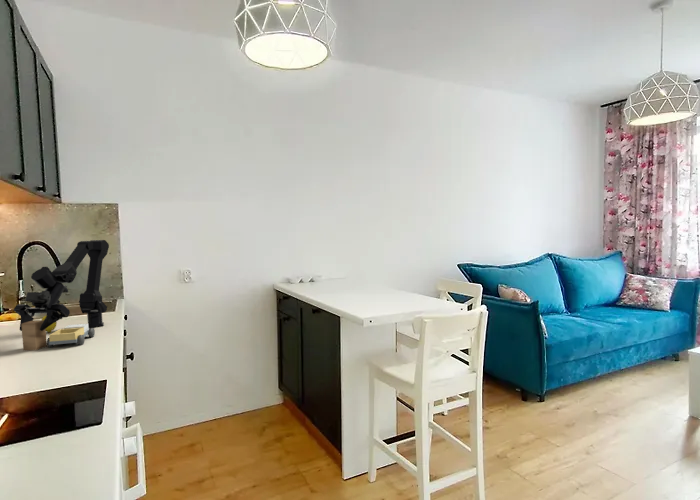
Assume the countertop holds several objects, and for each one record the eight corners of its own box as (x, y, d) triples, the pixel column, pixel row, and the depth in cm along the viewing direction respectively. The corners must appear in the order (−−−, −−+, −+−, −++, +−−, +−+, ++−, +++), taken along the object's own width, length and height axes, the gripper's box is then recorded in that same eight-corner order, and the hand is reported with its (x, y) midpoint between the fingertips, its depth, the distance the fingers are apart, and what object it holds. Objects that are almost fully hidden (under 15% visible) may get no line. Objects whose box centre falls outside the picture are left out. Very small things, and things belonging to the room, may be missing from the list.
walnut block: (34, 346, 162) (32, 320, 161) (46, 346, 161) (44, 320, 161) (23, 350, 157) (21, 323, 156) (36, 350, 156) (34, 323, 156)
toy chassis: (64, 337, 173) (63, 325, 173) (95, 335, 176) (94, 322, 175) (45, 349, 157) (44, 335, 157) (80, 346, 160) (79, 332, 160)
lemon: (60, 330, 185) (59, 312, 184) (50, 334, 180) (48, 315, 179) (48, 330, 186) (47, 312, 185) (38, 334, 180) (36, 315, 180)
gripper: (15, 283, 162) (-9, 319, 152) (62, 282, 161) (41, 318, 151) (33, 300, 170) (12, 334, 160) (78, 299, 169) (59, 334, 159)
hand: (30, 330), depth 157 cm, fingers open, 8 cm apart
